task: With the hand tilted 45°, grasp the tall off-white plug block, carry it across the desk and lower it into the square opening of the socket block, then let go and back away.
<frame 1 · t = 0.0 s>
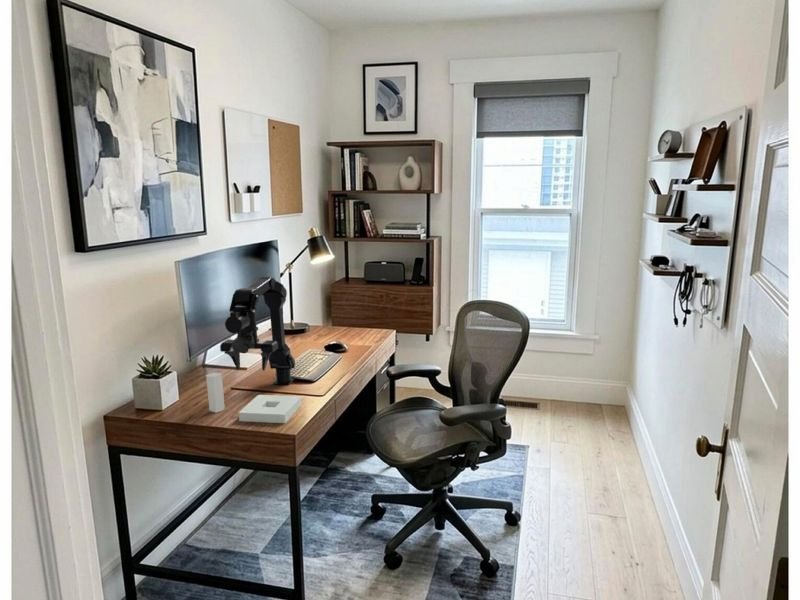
hand: (251, 370, 183), 14 cm above the table, tool pointing down, fingers open, 9 cm apart
plug: (217, 410, 186), on the table
socket: (271, 412, 183), on the table
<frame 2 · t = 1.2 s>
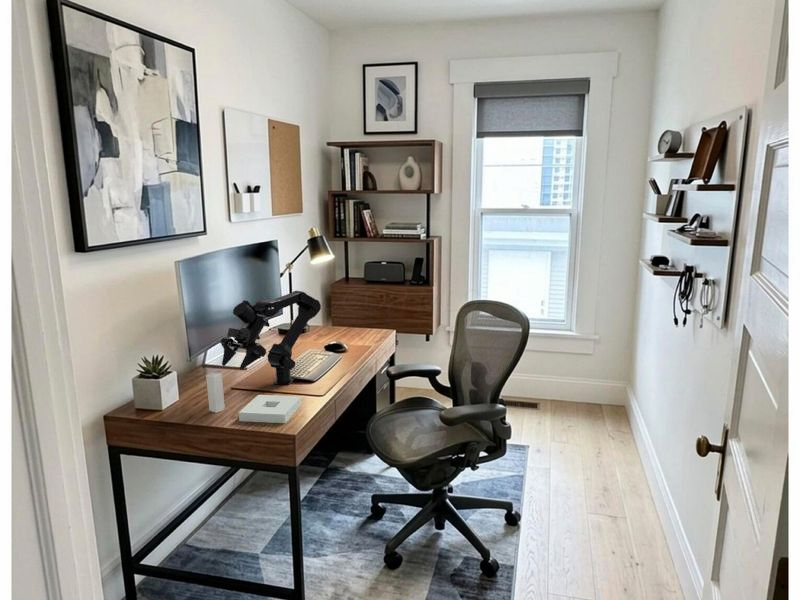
hand: (231, 367, 190), 13 cm above the table, tool tilted 45°, fingers open, 9 cm apart
nothing on the table moved.
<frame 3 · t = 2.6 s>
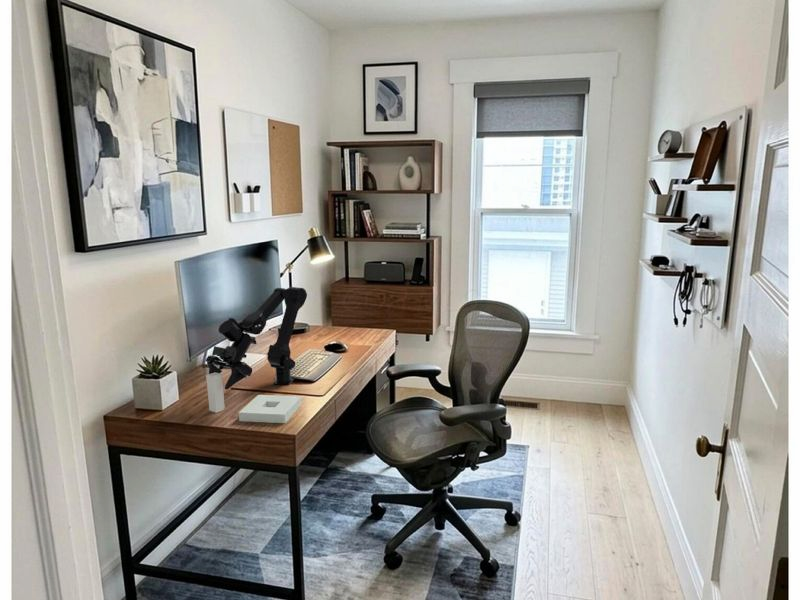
hand: (216, 386, 185), 8 cm above the table, tool tilted 45°, fingers open, 9 cm apart
nothing on the table moved.
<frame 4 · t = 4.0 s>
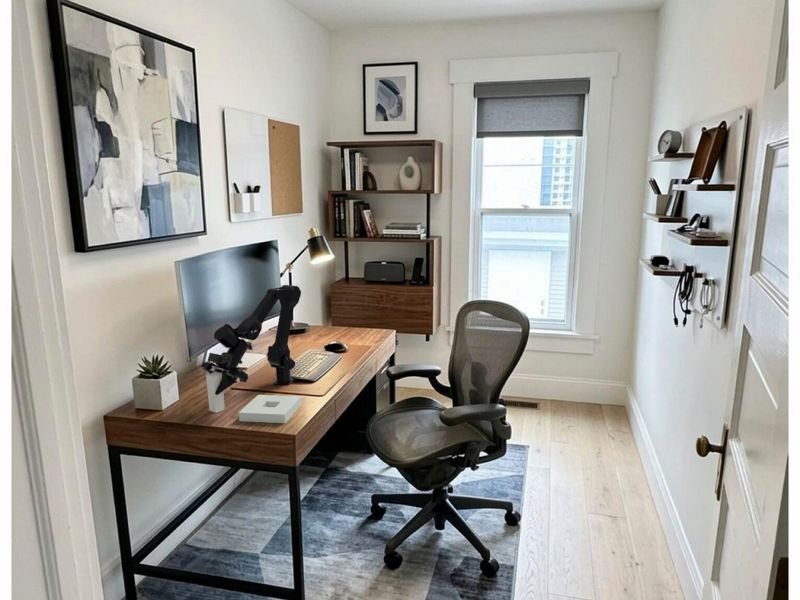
hand: (212, 393, 184), 7 cm above the table, tool tilted 45°, fingers closed on plug, 4 cm apart
plug: (217, 409, 186), on the table, touching gripper
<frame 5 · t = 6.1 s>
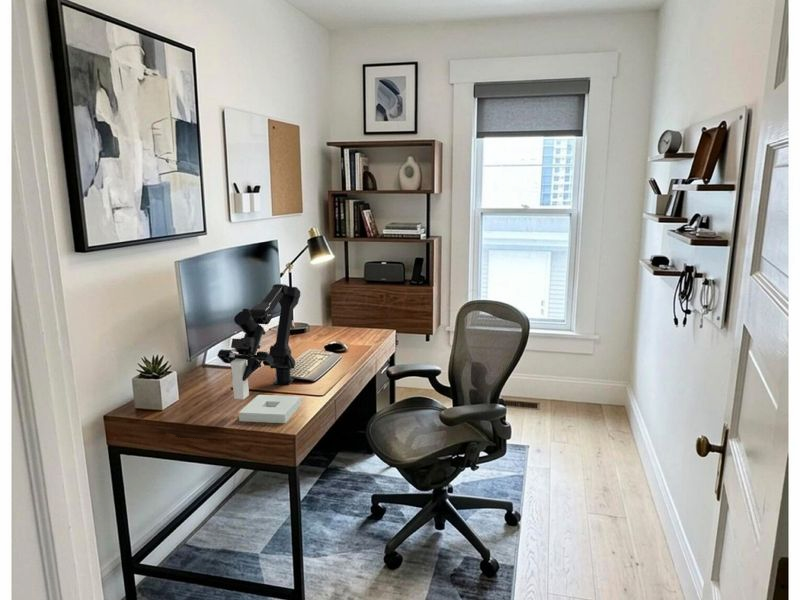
hand: (238, 380, 179), 12 cm above the table, tool tilted 45°, fingers closed on plug, 4 cm apart
plug: (241, 397, 182), point 6 cm above the table, touching gripper
when the fingers open (7 cm above the table, at t = 8.5 s): plug stays where it is, resting in socket.
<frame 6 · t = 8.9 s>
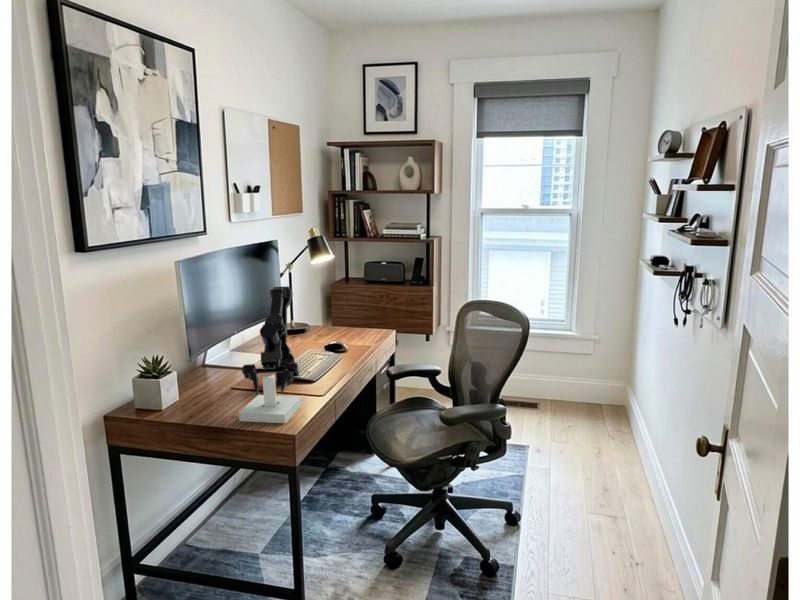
hand: (269, 393, 180), 8 cm above the table, tool tilted 45°, fingers open, 8 cm apart
plug: (271, 412, 183), resting in socket
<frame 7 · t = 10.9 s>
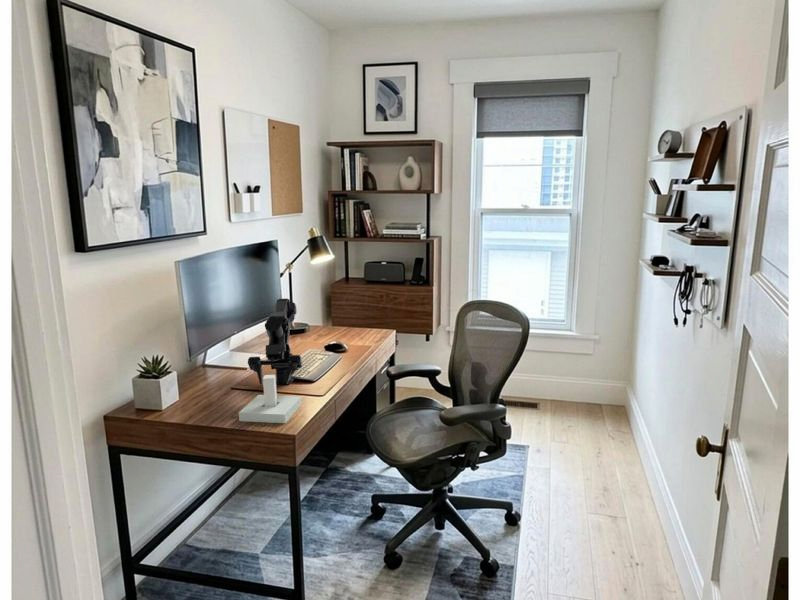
hand: (273, 383, 190), 7 cm above the table, tool tilted 45°, fingers open, 9 cm apart
nothing on the table moved.
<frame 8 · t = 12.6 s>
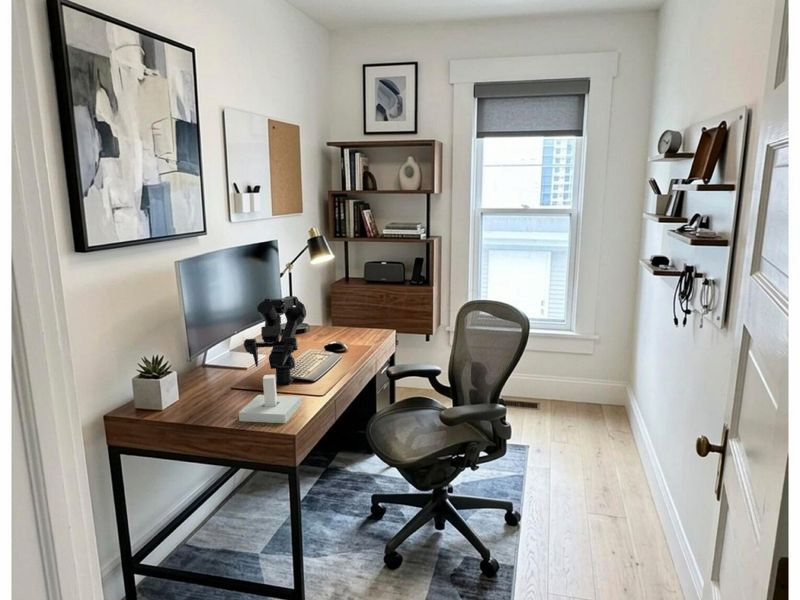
hand: (269, 365, 190), 14 cm above the table, tool tilted 45°, fingers open, 9 cm apart
nothing on the table moved.
at the end: plug 0.1 cm off-centre on the socket, point 0.0 cm above the socket's base; plug tilted 0°; the gripper is holding nothing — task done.
